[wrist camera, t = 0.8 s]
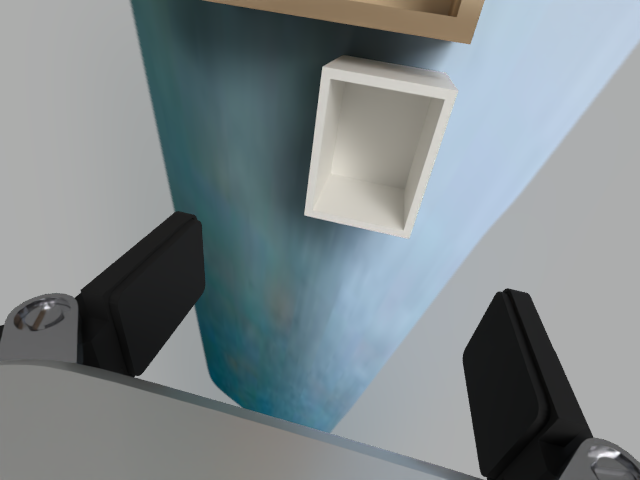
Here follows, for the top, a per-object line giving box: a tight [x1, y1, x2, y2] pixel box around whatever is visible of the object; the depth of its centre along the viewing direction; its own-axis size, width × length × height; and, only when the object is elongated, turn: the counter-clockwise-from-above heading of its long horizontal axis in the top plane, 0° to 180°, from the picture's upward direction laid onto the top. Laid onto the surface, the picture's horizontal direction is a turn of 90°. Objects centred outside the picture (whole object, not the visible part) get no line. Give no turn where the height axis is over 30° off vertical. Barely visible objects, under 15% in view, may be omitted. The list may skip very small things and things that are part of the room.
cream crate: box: [304, 55, 458, 239], centre depth 23 cm, size 9×7×7 cm
